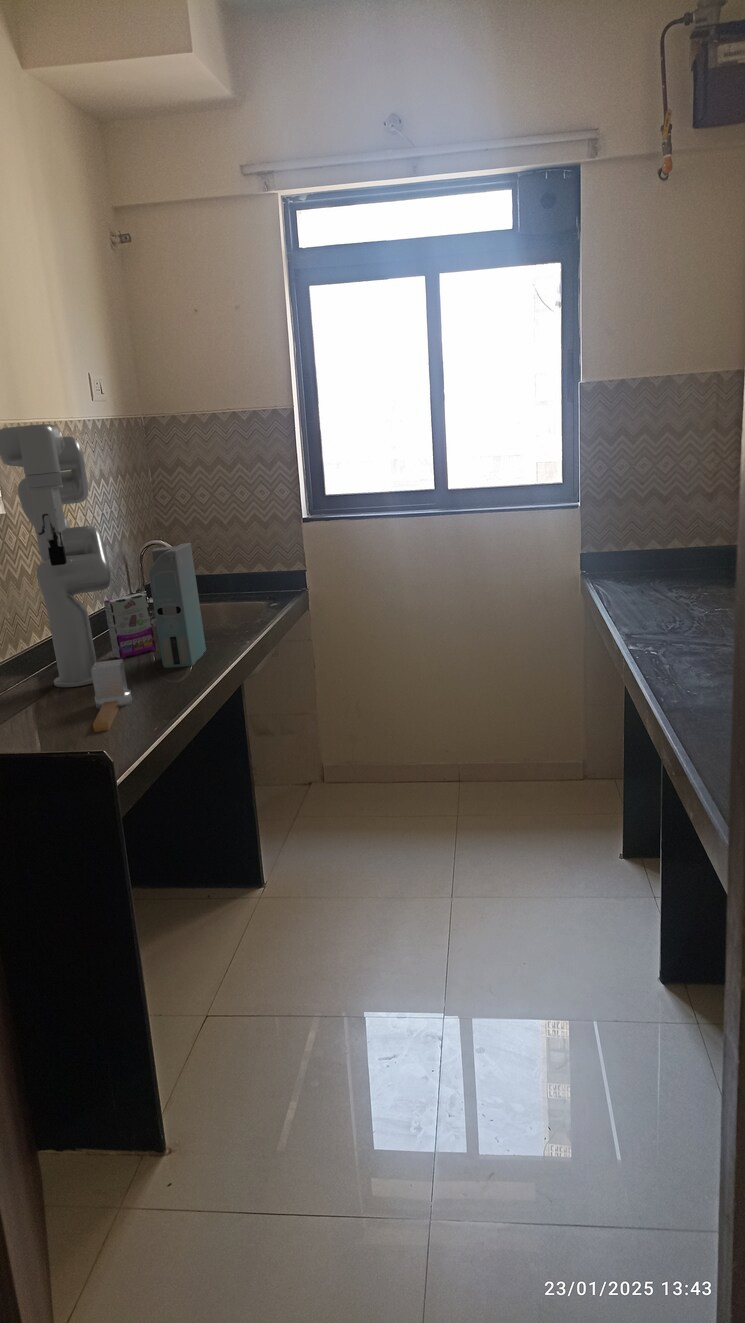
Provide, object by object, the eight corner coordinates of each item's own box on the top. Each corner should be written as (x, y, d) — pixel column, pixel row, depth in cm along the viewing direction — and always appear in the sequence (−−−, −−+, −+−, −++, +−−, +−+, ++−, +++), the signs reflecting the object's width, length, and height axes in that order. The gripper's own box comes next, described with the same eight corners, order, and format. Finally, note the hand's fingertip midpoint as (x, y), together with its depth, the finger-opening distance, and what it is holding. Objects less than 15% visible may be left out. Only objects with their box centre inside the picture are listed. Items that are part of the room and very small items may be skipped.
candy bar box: (148, 648, 267) (139, 592, 263) (156, 650, 263) (147, 593, 259) (112, 657, 260) (102, 600, 256) (120, 659, 256) (110, 601, 252)
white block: (99, 691, 213) (94, 662, 212) (127, 688, 214) (122, 659, 212) (96, 699, 207) (90, 668, 206) (124, 695, 208) (119, 665, 206)
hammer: (99, 701, 215) (94, 674, 213) (134, 697, 216) (129, 670, 214) (81, 733, 191) (76, 703, 190) (121, 728, 192) (116, 698, 190)
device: (179, 653, 257) (162, 545, 249) (206, 651, 256) (190, 542, 249) (163, 668, 241) (145, 553, 234) (192, 666, 240) (175, 550, 233)
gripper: (34, 482, 212) (48, 562, 216) (19, 485, 197) (35, 571, 202) (67, 479, 212) (81, 558, 217) (55, 482, 198) (70, 567, 203)
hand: (59, 564), depth 209 cm, fingers closed
